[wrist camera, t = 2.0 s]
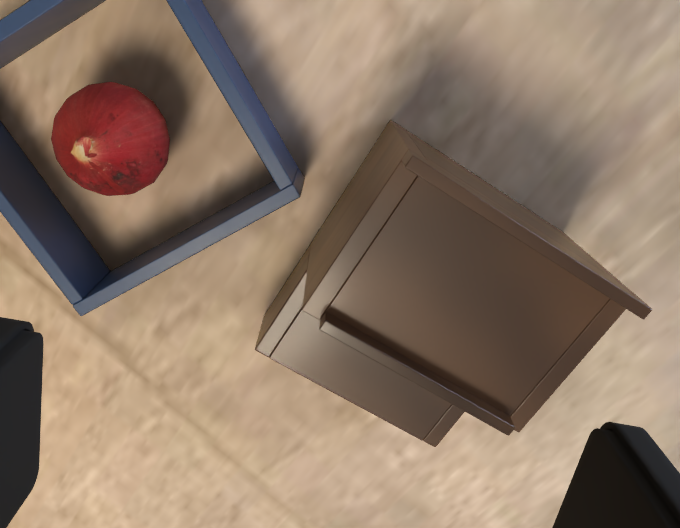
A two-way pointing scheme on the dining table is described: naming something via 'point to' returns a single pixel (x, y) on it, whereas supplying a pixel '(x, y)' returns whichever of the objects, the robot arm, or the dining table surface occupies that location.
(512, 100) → the dining table surface
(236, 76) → the crate
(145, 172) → the onion
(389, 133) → the step shelf
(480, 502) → the dining table surface
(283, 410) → the dining table surface
